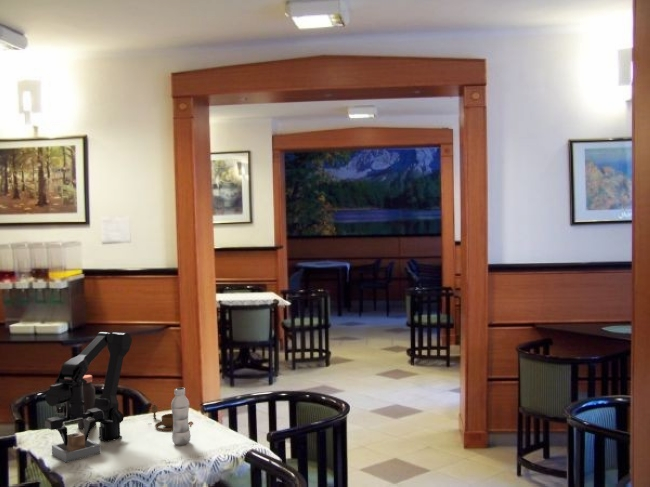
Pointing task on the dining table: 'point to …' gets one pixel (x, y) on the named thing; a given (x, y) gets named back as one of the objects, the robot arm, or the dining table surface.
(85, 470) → the dining table surface
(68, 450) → the walnut block
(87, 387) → the vinegar
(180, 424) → the plastic bottle
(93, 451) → the charcoal tray
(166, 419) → the place setting
